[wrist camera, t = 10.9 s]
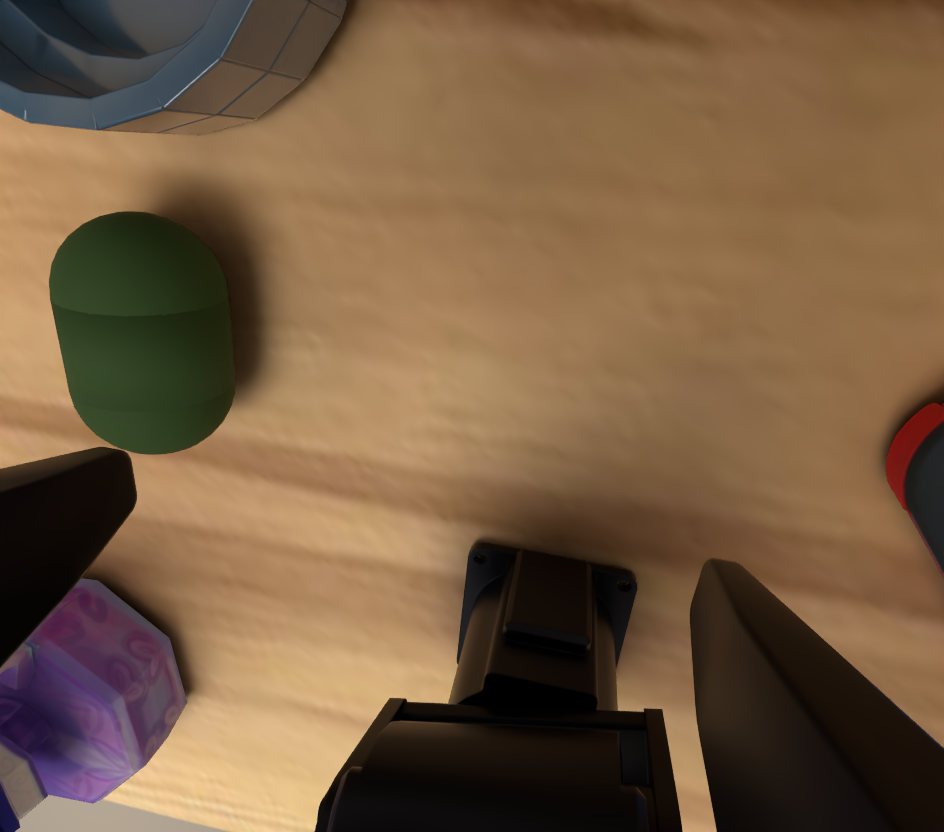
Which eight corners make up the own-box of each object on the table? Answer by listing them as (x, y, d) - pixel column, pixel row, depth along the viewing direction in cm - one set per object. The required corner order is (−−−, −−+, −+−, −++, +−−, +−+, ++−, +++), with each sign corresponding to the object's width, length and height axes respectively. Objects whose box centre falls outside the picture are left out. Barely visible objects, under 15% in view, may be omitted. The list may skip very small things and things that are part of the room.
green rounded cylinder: (268, 433, 23) (170, 497, 18) (162, 406, 24) (46, 460, 20) (256, 216, 20) (132, 231, 15) (134, 197, 21) (-14, 207, 16)
